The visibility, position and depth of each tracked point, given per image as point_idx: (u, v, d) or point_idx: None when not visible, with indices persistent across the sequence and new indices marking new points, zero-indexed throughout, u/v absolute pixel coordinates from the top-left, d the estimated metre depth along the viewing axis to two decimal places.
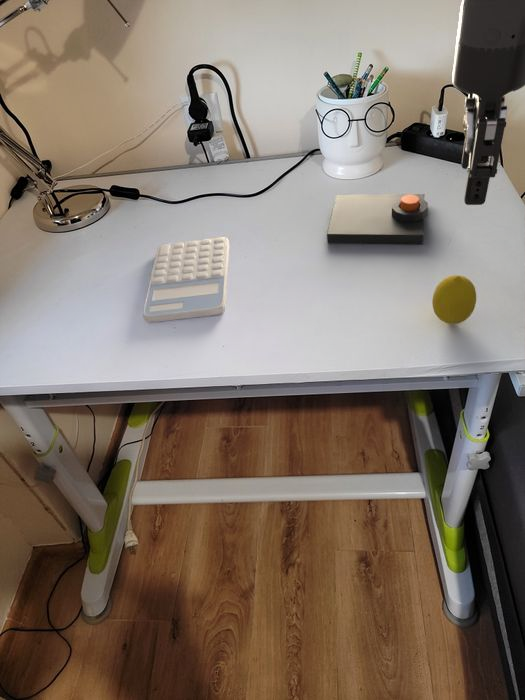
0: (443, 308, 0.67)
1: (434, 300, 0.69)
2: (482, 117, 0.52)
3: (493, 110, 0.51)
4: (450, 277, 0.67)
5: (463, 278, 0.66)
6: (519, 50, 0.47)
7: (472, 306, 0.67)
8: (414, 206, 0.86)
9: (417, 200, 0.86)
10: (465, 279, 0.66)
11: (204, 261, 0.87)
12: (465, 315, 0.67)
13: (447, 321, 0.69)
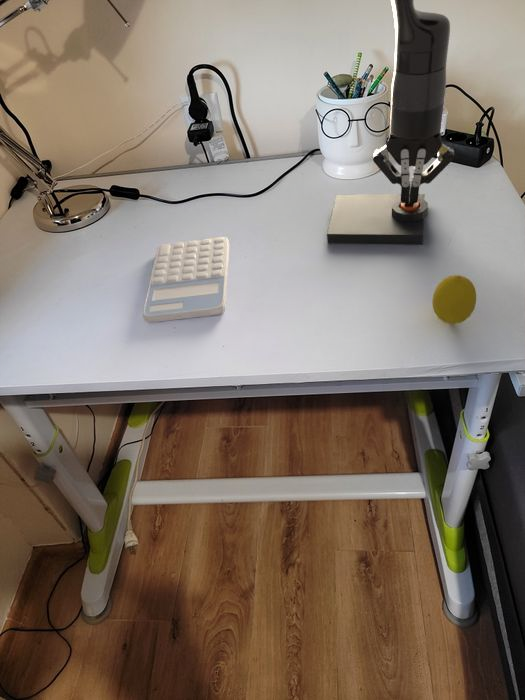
0: (443, 308, 0.67)
1: (434, 300, 0.69)
2: (386, 141, 0.81)
3: None
4: (450, 277, 0.67)
5: (463, 278, 0.66)
6: (393, 110, 0.75)
7: (472, 306, 0.67)
8: None
9: (417, 205, 0.86)
10: (465, 279, 0.66)
11: (204, 261, 0.87)
12: (465, 315, 0.67)
13: (447, 321, 0.69)
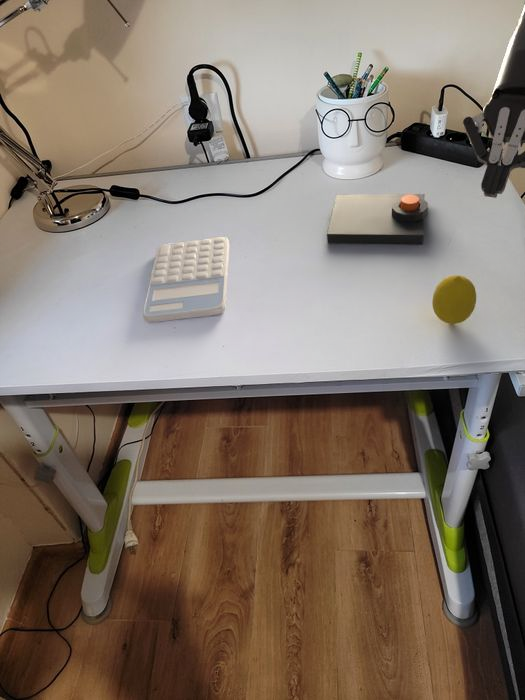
0: (443, 308, 0.67)
1: (434, 300, 0.69)
2: None
3: None
4: (450, 277, 0.67)
5: (463, 278, 0.66)
6: (504, 60, 0.65)
7: (472, 306, 0.67)
8: (414, 206, 0.86)
9: (417, 200, 0.86)
10: (465, 279, 0.66)
11: (204, 261, 0.87)
12: (465, 315, 0.67)
13: (447, 321, 0.69)
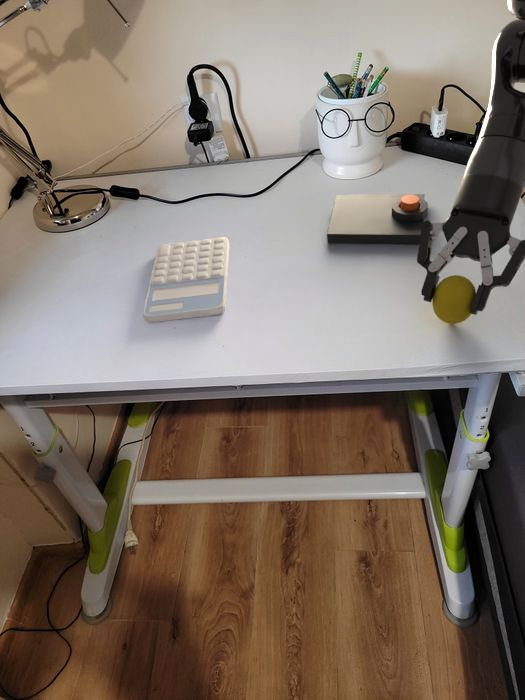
0: (443, 308, 0.67)
1: (434, 300, 0.69)
2: None
3: None
4: (450, 277, 0.67)
5: (463, 278, 0.66)
6: (463, 179, 0.66)
7: None
8: (414, 206, 0.86)
9: (417, 200, 0.86)
10: (465, 279, 0.66)
11: (204, 261, 0.87)
12: (465, 315, 0.67)
13: (447, 321, 0.69)
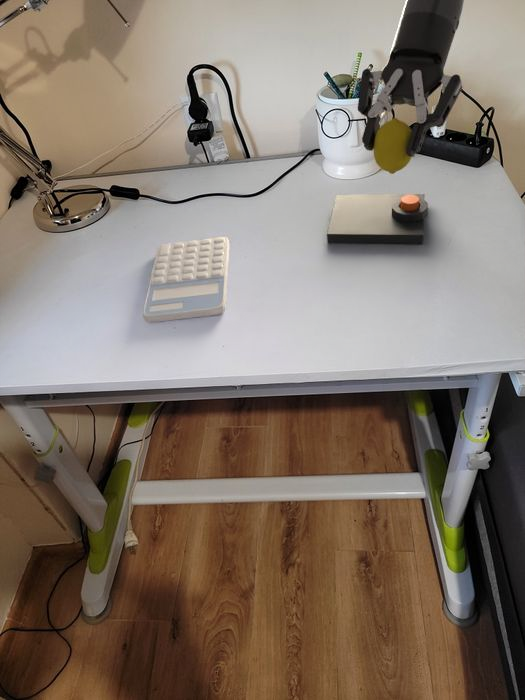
0: (382, 151, 0.70)
1: (374, 146, 0.71)
2: None
3: None
4: (388, 121, 0.70)
5: (400, 120, 0.69)
6: (399, 23, 0.68)
7: None
8: (414, 206, 0.86)
9: (417, 200, 0.86)
10: (402, 121, 0.69)
11: (204, 261, 0.87)
12: (403, 158, 0.70)
13: (387, 167, 0.72)
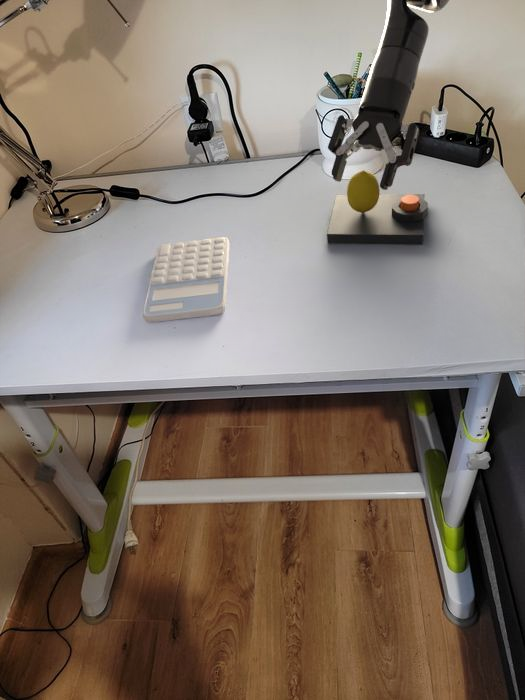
0: (353, 197, 0.86)
1: (347, 192, 0.87)
2: None
3: None
4: (358, 172, 0.86)
5: (367, 172, 0.85)
6: (366, 84, 0.83)
7: (375, 195, 0.86)
8: (414, 206, 0.86)
9: (417, 200, 0.86)
10: (369, 173, 0.85)
11: (204, 261, 0.87)
12: (370, 202, 0.86)
13: (357, 209, 0.88)
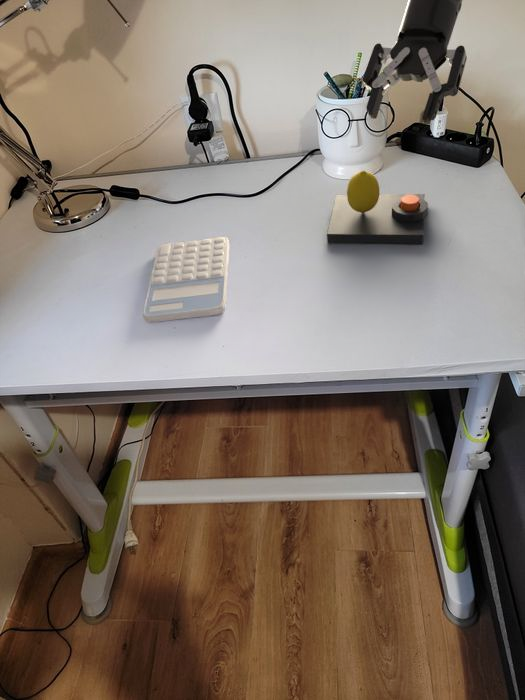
0: (353, 197, 0.86)
1: (347, 192, 0.87)
2: None
3: None
4: (358, 172, 0.86)
5: (367, 172, 0.85)
6: None
7: (375, 195, 0.86)
8: (414, 206, 0.86)
9: (417, 200, 0.86)
10: (369, 173, 0.85)
11: (204, 261, 0.87)
12: (370, 202, 0.86)
13: (357, 209, 0.88)
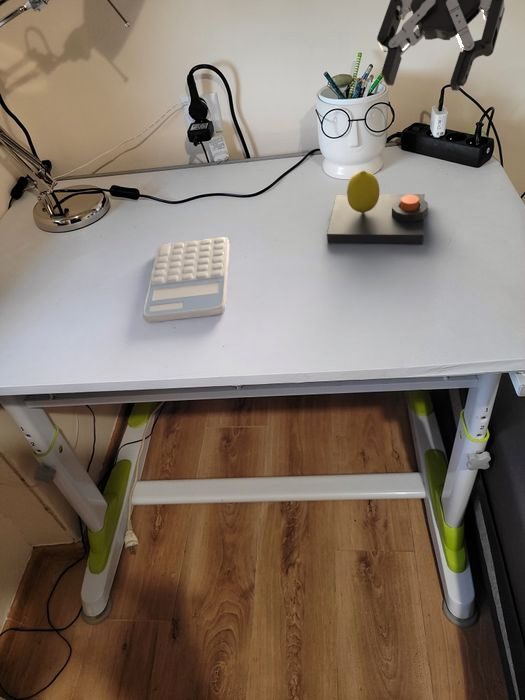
0: (353, 197, 0.86)
1: (347, 192, 0.87)
2: None
3: None
4: (358, 172, 0.86)
5: (367, 172, 0.85)
6: None
7: (375, 195, 0.86)
8: (414, 206, 0.86)
9: (417, 200, 0.86)
10: (369, 173, 0.85)
11: (204, 261, 0.87)
12: (370, 202, 0.86)
13: (357, 209, 0.88)
